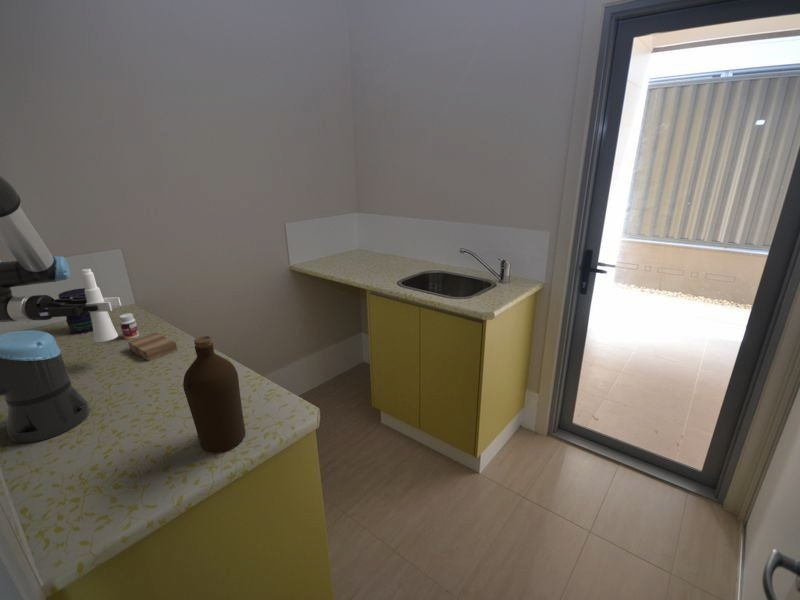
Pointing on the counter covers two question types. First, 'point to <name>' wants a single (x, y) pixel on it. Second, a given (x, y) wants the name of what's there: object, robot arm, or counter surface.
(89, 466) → the counter surface
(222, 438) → the olive oil
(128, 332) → the pill bottle
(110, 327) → the cosmetic bottle
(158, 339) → the walnut board
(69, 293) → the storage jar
